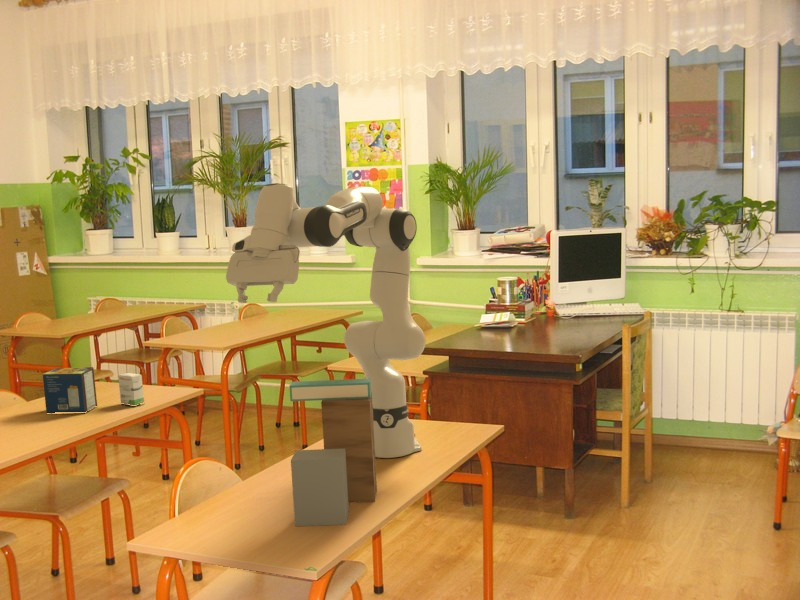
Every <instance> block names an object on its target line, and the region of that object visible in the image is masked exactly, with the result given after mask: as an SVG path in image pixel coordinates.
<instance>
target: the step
mask: <svg viewBox="0 0 800 600" xmlns="http://www.w3.org/2000/svg"><path fill="white" fill-rule="evenodd" d="M290 467H291V468H290V469H291V470H290V471H291V482H292V483H291V485H292V486H291V487H292V498H293V499H292V500H293V515H294V526H295V527H316V526H321V527H322V526H342V525H343V526H345V525H347V522H348V517H349V513H350V509H349V508H350V507H349V503H348V488H347V470H346V453H345V449H324V448H323V449H321V448H319V449H296V450H295V451H294V453H293V456H292V457H291V460H290Z"/></svg>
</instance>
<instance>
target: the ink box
mask: <svg viewBox="0 0 800 600" xmlns="http://www.w3.org/2000/svg"><path fill="white" fill-rule="evenodd" d="M117 376H118V386H119V395H120V397H119V398H120V404H121V403H124V404H130V405H137V404H140V403H143V402H144V403H145V396H144V387H143V375H142V374H139V373H132V372H126V373H121V374H118V375H117Z"/></svg>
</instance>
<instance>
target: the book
mask: <svg viewBox="0 0 800 600" xmlns="http://www.w3.org/2000/svg"><path fill="white" fill-rule="evenodd" d="M370 397H371V379H366V378H353V379H350V378H349V379H331V380H330V379H329V380H328V379H327V380H326V379H325V380H303V381H302V380H301V381H292V382H291V383H290V384H289V398H290V399H289V400H290V402H309V401H322V400H339V399H365V398H370Z"/></svg>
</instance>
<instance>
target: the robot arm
mask: <svg viewBox="0 0 800 600" xmlns="http://www.w3.org/2000/svg"><path fill="white" fill-rule="evenodd" d="M295 199H296V198H295V190H294V187H293V186H291V185H289V184H286V183H279V182H278V183H277V182H276V183H267V184H265V185H264V186H263V187H262V188H261V190H260V193H259V195H258V198H257V202H256V205H255V210H254V224H253V227H252V228H251V231H250V235H247V236H246V237H245V238H243V239H240V240H239V241H236V242H234V243H233V244H232V247H231V250H232V252H233V253H232V254H231V256H230V257H229V262H228V265H227V269H226V274H225V280H226V282H227V283H228V284H229V285H232V286H234V287H235V288H236V291H237V295H238V296H237V303H240V304H247V303H248V298H249V296H248V295H246V290H247V288H248V287H253V286H273V288H272V290H271V292H269V293H267V298H266V300H267V302H268V303H277V301H278V297H279V295H280V293H281V292H282V290H283V289H284V287H285V285H294V284H295V283H296V282H297V281H298V278H299V270H300V269H299V268H300V260H299V258H300V253H301V252H300V249H299V248H309V247H310V248H311V247H319V248H320V247H324V248H330V247H333V246H335V245H336V244H337V243H338V242H339V241H340V239H342V237H343V236H344V238H345V240H346V241H347V242H348V243H349V244H350V245H352V246H355V247H359V248H360V247H368V248H375V254H374V258H373V262H372V263H373V264H372V267H371V268H372V269H371V277H370V278H371V279H370V287H369V288H370V290H369V299H370V301H371V303H372V304H373V305H374V306H376V307H377V308H378V309H380V311H381V314H382V320H380V321H379V320H362V321H357V322H351V323H350V325H348V327H347V328H346V329H345V330H346V331H345V333H344V338H343V339H344V346H345V348H346V351H348V353H349V354H351V356H352V357H354V358H355V359H356V361H357V362H358V364H359V365H360V367H361V369H362V371H363V373H364V376H365V379H371V392H372V403H373V422H374V441H375V458H383V459H391V458H399V457H404V456H408V455H410V454H413V453H417V452H420V451H422V450H423V449H422V445H421V444H420V442H419V441H418V439H417V437H416V434H415V430H414V429H415V428H414V427H415V426H414V422H412V420H410V419H409V407H408V403H407V395H406V393H407V392H406V380H405V378H404V375H403V374H402V373H401V372H400V371H398V370H397V369H395V367H393V365H392V363H391V361H390V360H394V361H405V360H406V361H407V360H413V359H418V358H419V357H420V356H421V355H422V354H423V352H424V350H425V348H426V335H425V332H424V331H423V329H422V328H421V327H420V326H419V325H418V323H416V321H415V320H414V318H413V316H412V314H411V311H410V307H409V282H410V269H411V267H410V266H411V265H410V249H409V247H410V245H411V244H412V243H413V241H414V240H415V238H416V236H417V235H416V234H417V231H418V230H417V227H418V226H417V221H416V218H415V216H414V215H413V213H412V212H411V211H410V210H407V209H405V208H403V209H402V208H387V207H386V208H384V207H383V206H384V201H383V198H382V195H381V194H380V192H379V191H378V189H376V188H374V187H372V186H369V185H368V186H367V185H366V186H365V185H364V186H363V185H362V186H361V185H360V186H352V187H348V188H345V189H342V190H339V191H337V192H336V193H334V194H332V195H331V196H330V197H329V198H328V200H327V203H326V205H321V206H320V205H318V206H315V207H313V206H312V207H302V208H301V207H300V206H299V205H298V203H297V202H296V200H295Z"/></svg>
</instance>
